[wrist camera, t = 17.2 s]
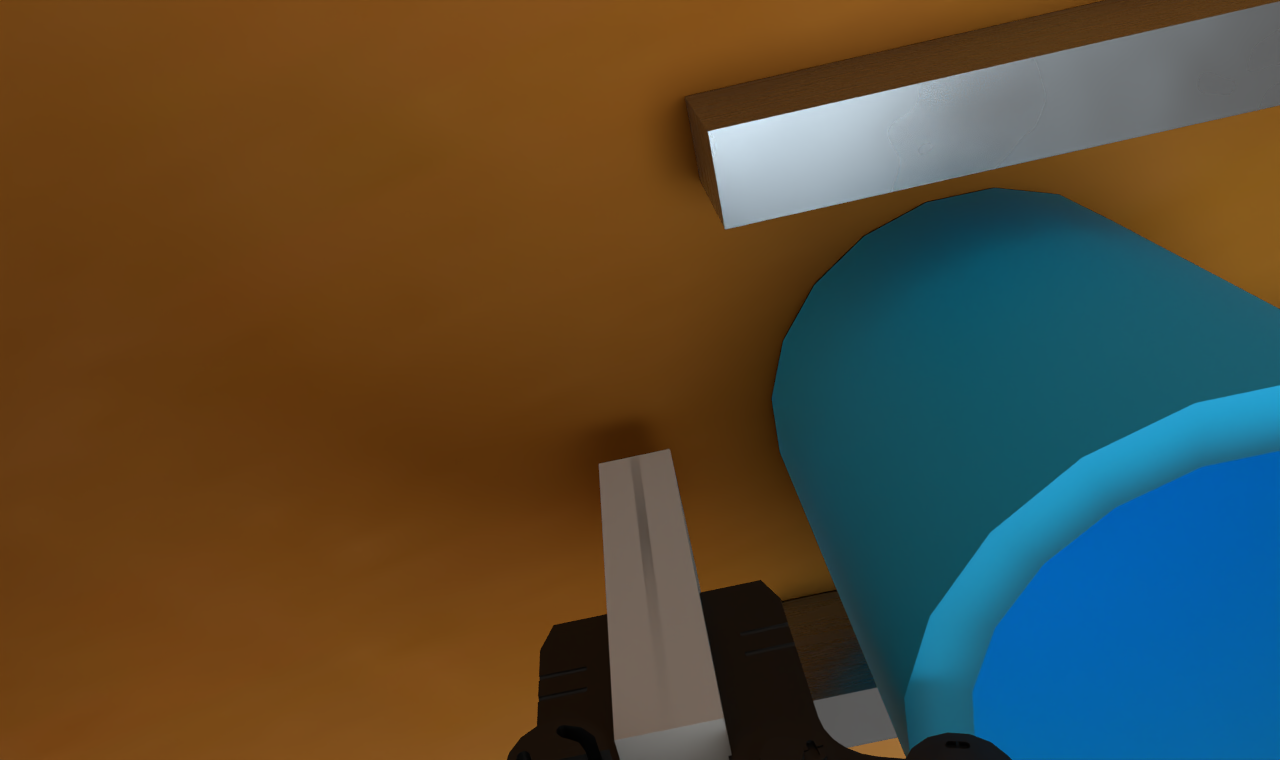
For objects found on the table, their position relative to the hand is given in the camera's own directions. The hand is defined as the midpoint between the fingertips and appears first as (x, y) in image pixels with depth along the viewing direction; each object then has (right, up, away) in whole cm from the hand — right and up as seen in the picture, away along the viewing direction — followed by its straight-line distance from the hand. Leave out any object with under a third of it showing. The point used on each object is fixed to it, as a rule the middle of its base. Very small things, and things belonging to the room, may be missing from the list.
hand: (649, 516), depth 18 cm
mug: (+8, +3, +2) cm, 9 cm away
